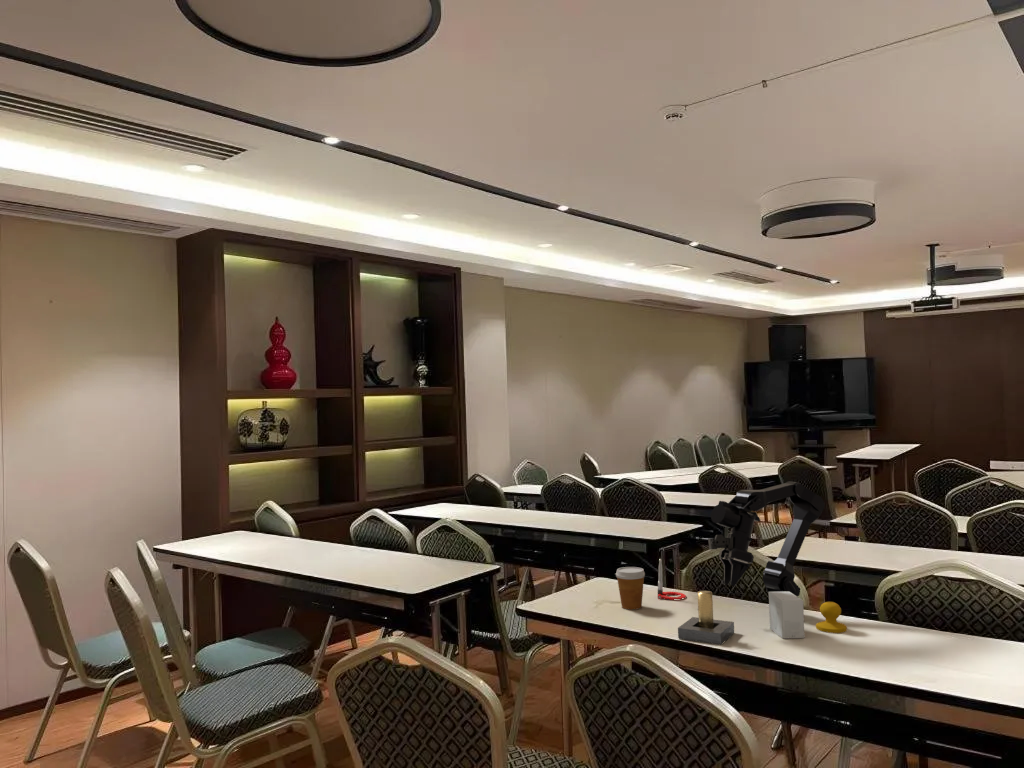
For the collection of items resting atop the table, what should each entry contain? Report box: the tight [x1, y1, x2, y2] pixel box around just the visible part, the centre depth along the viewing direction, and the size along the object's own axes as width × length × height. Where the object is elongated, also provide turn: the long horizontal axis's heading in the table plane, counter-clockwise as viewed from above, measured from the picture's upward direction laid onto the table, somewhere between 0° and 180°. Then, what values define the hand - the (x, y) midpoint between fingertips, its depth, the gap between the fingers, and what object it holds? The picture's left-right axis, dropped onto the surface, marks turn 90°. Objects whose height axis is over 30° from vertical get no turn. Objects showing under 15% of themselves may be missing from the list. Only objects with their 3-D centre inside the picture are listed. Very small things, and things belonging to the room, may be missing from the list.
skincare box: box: [768, 592, 805, 640], centre depth 212 cm, size 10×6×10 cm, turn 0°
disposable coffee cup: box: [615, 566, 646, 611], centre depth 245 cm, size 10×10×12 cm
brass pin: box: [697, 590, 714, 629], centre depth 212 cm, size 4×4×12 cm
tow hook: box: [657, 558, 687, 601], centre depth 255 cm, size 8×13×9 cm
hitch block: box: [677, 616, 735, 646], centre depth 212 cm, size 12×12×3 cm
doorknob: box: [815, 601, 848, 634], centre depth 214 cm, size 8×8×8 cm
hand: (729, 584), depth 220 cm, fingers open, 9 cm apart
